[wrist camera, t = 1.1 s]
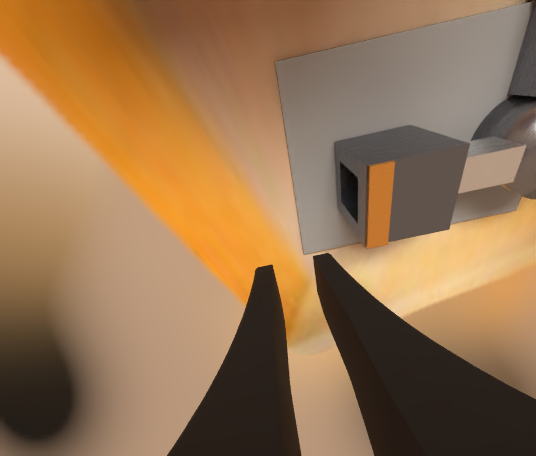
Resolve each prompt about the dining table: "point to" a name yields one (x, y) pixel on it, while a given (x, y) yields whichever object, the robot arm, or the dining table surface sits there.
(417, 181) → the socket
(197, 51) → the dining table surface
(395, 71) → the mat
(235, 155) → the dining table surface
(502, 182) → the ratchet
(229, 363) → the robot arm
